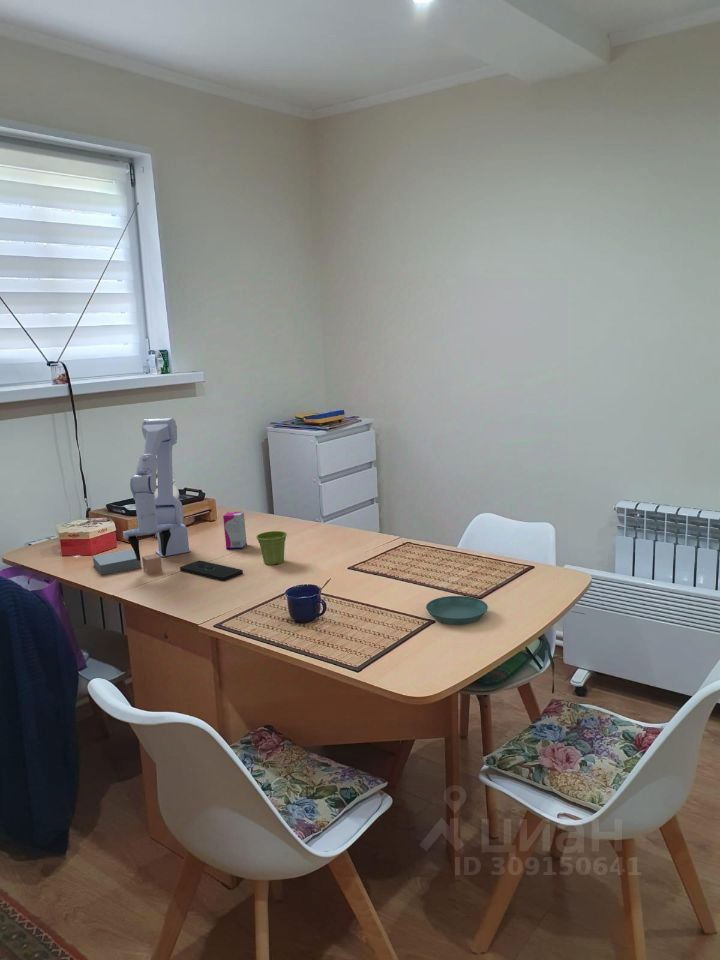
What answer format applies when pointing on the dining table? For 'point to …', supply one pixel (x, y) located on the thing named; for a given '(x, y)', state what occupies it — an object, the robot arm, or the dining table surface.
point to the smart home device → (211, 570)
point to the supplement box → (235, 530)
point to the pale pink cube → (152, 563)
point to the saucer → (457, 609)
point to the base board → (116, 561)
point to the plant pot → (272, 546)
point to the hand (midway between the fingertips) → (151, 557)
